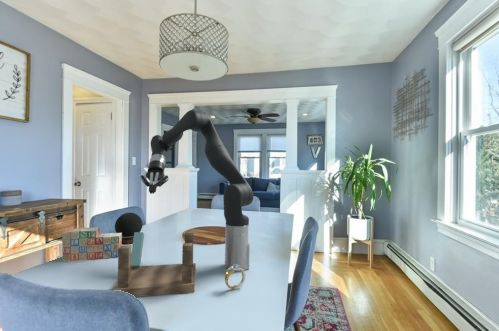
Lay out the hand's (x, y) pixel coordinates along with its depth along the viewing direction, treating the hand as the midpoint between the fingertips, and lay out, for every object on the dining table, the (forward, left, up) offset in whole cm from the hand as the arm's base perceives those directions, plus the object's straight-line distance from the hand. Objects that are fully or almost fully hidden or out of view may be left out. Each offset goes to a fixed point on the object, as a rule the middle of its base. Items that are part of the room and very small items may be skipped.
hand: (152, 192), depth 115 cm
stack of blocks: (+24, 0, -28) cm, 37 cm away
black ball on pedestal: (+15, -22, -28) cm, 39 cm away
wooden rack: (-8, +29, -28) cm, 41 cm away
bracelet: (-33, +38, -28) cm, 58 cm away
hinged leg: (+2, +22, -25) cm, 33 cm away
